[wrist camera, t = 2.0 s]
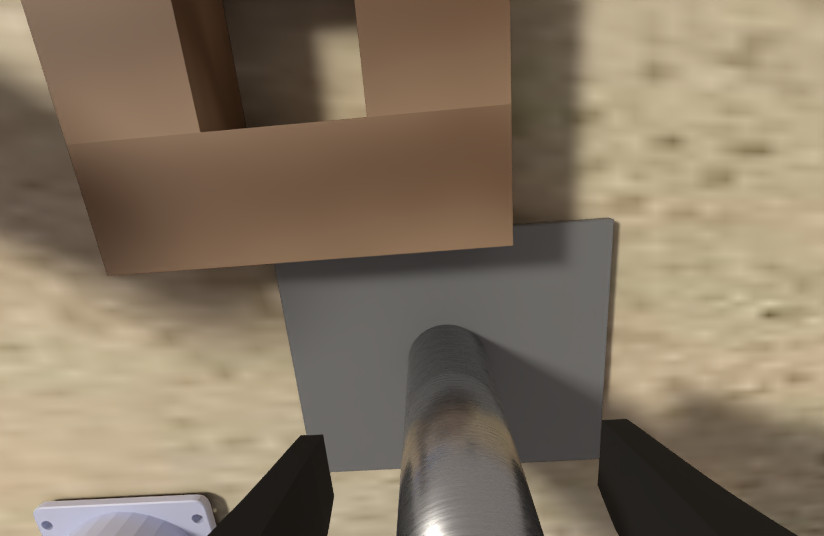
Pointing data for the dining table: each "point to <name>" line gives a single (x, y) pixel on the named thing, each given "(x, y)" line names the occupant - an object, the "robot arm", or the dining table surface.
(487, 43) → the hole block
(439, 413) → the peg
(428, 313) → the mat
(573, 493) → the dining table surface
